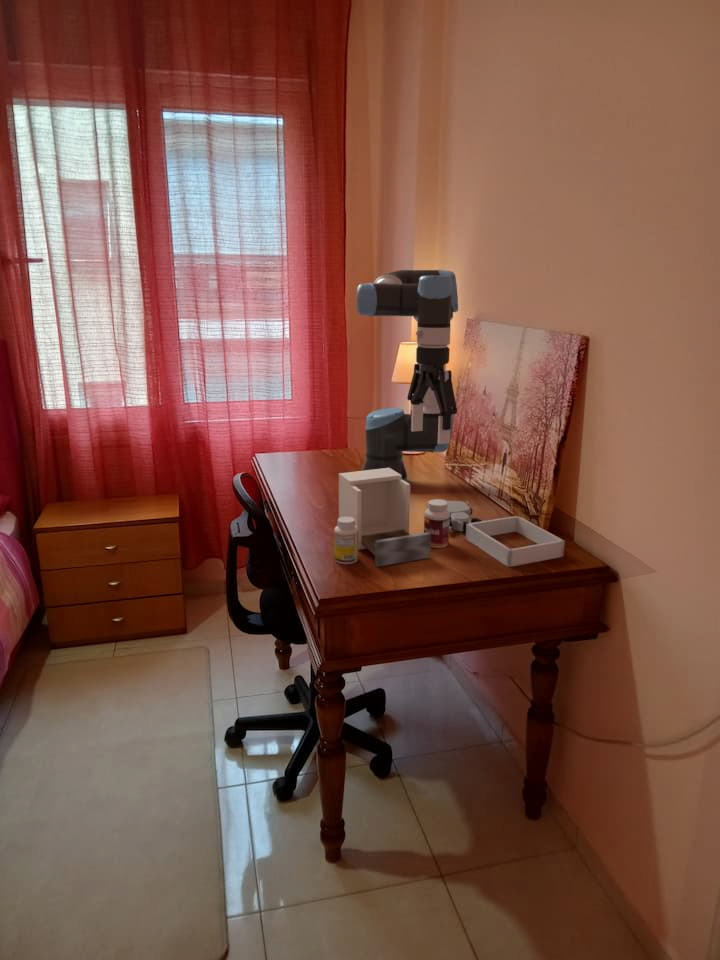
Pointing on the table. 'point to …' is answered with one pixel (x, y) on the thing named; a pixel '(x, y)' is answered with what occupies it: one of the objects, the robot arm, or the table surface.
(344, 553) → the supplement bottle
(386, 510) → the caddy
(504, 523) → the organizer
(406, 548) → the drawer
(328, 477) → the table surface
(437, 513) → the pill bottle
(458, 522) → the robot toy
